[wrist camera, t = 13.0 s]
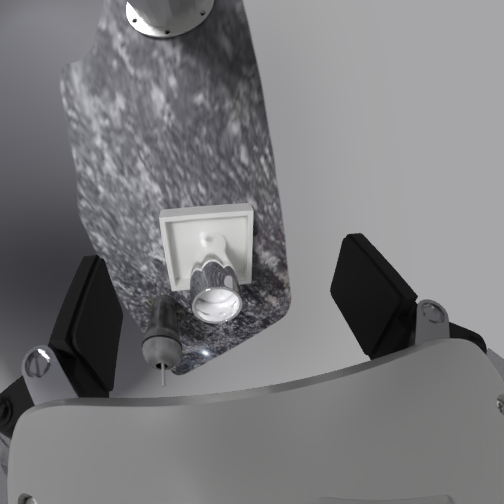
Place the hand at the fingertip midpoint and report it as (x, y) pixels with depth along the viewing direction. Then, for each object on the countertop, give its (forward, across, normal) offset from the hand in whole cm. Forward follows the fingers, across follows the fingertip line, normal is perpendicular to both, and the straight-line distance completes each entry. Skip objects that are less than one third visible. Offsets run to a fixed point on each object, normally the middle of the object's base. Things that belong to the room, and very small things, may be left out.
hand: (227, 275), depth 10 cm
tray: (+32, 0, +19) cm, 38 cm away
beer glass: (+32, 0, +19) cm, 37 cm away
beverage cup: (+32, +10, +32) cm, 47 cm away
